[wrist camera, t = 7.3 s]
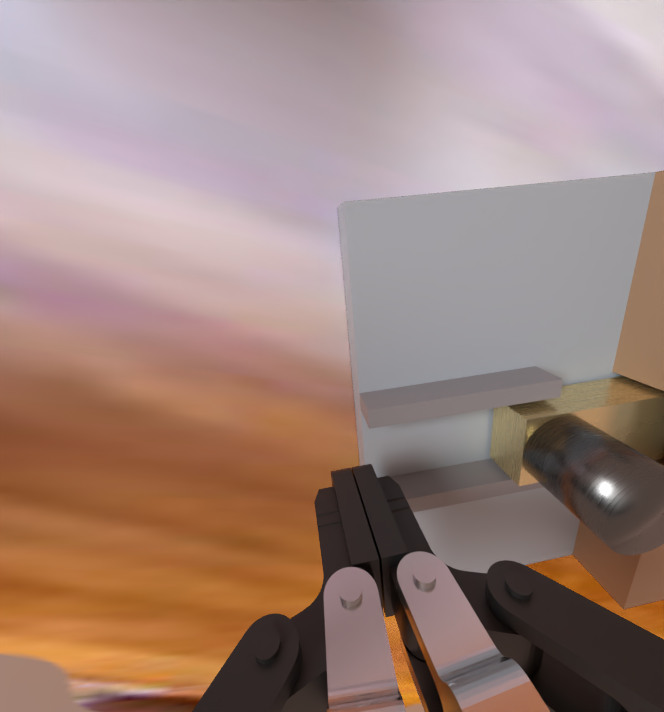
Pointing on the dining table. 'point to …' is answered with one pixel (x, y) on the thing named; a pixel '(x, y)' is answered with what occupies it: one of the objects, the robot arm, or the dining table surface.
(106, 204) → the dining table surface
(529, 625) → the robot arm
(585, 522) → the bolt
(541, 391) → the door plate
